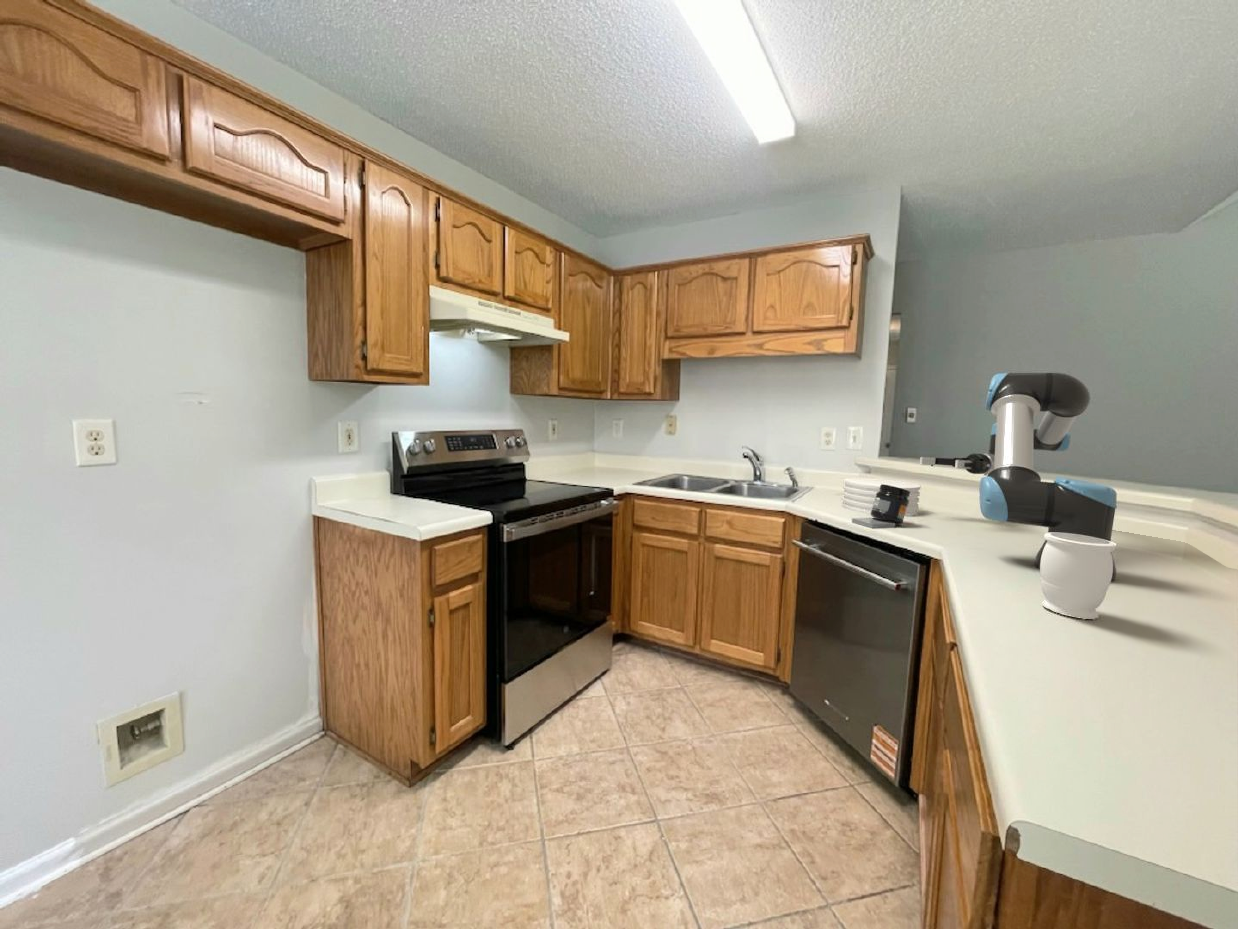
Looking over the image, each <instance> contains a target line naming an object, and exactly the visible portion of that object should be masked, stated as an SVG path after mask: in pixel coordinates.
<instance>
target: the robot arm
mask: <svg viewBox="0 0 1238 929" xmlns="http://www.w3.org/2000/svg"><path fill="white" fill-rule="evenodd" d="M1090 402H1091V393H1090V391H1089V389H1088V388H1087V386H1086V385H1085V384H1084V383H1083V382H1082V381H1081V380H1079V379H1078V378H1076V377H1075V376H1072V375H1070V374H1067V373H1063V372H1004V373H997V374H994V376H993V377H992V378H991V380H990V384H989V388H988V391H987V396H986V400H985V410H987V411H990V412H991V414H992V416H993V417H994V418H995V419H996V422H994V423H993V424H992V426H991V431H990V438H989V448H988V449H989V450H988V453H971V454H968V455H967V456H966V457H951V458H950V457H948V458H947V457H934V456H933V457H932V456H929V457H927V456H920V459H919V460H920V461H919V465H923V466H924V465H925V466H926V465H928V466H931V467H934V466H935V465H937V466H938V465H939V466H952V467H953V468H954V469H961V470H962V469H964V470H966V471H967V472H968V473H970V474H973V475H983V477H981V479H980V481H979V487H978V488H979V489H978V490H979V509H980V512H981V513H980V514H981V515H982V516H983V517H984V518H985V519H987V520H990V521H991V520H992V521H998V522H1000V523H1005V522H1006V523H1013V524H1019V525H1020V524H1021V525H1027V526H1028V525H1030V526H1034V527H1035V526H1037V527H1043V528H1048V529H1047V530H1048V531H1047V533H1049V532H1058V533H1071V534H1079V535H1085V536H1091V537H1096V538H1100V539H1104V540H1108V541H1111V542H1112V534H1113V527H1114V520H1115V513H1116V509H1117V508H1118V506H1117V497H1118V496H1117V491H1116V490H1115V489H1114V488H1112V487H1110V486H1107V485H1104V484H1101V483H1100V484H1099V483H1095V482H1090V481H1084V480H1079V479H1074V478H1068V477H1062V476H1057V477H1055V478H1054V480H1053V482H1048V481H1042V479H1041V475H1040V473H1038V472H1037V471H1036V470H1034V451H1050V452H1065V451H1067V450H1068V449H1069V446H1070V442H1071V433H1070V431H1069V429H1070V428H1071V426H1073V423H1075V420H1076V418H1077V417H1078V416H1079V415H1082V414H1083V413H1085V411H1086V410H1087V408H1088V407H1089V404H1090ZM1040 412H1045V413H1044V415H1043V418H1042V420H1041V421H1040V424H1039V426H1038V428H1034V418H1036V417H1037V415H1039V413H1040ZM1046 543H1047V540H1046V539H1044V542H1043V543H1042V545H1041V547H1040V549H1039V550H1038V552H1037V554H1036V556H1035V559H1034V560H1035V561H1034V565H1035V566H1036V567H1037V568H1039V569H1040V562H1041V556H1042V552H1043V549H1044V547H1045V545H1046ZM1111 555H1112V559H1113V573H1112V579H1111V582H1112V581H1115V580H1116V577H1117V567H1116V565H1115V564H1116V563H1115V561H1114V560H1115V559H1114V558H1113V553H1112V552H1111Z"/></svg>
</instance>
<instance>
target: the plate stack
mask: <svg viewBox="0 0 1238 929" xmlns="http://www.w3.org/2000/svg"><path fill="white" fill-rule="evenodd" d="M843 483H844V484H843V486H842V489H843V490H842V497H841V500H842V502H841V507H842V508H844V509H847V510H849V511H853V512H858V513H863V514H870V515H871V511H872V507H873V504H874V501H875V498H876V493H877V492H879V491H880V489H879V488H880V485H881V484H884V485H890V486H894V487H898V488H902V489H905V490H908V491H910V495H909V497H908V500H909V504H908V506H907V509H906V513H905V517H913V516H912V515H915V516H917V515H918V513H919V511H918V509H919V506H920V505H919V504H918V503H920V498H919V497H920V495H921V492H920V490H921V485H920V484H917V483H914V482H908V481H902V480H893V479H887V478H886V479H885V478H874V477H873V478H872V477H846V478H844V479H843Z"/></svg>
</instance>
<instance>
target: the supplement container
mask: <svg viewBox="0 0 1238 929" xmlns="http://www.w3.org/2000/svg"><path fill="white" fill-rule="evenodd" d="M879 489H880V491H879V492H877V493H876V498H875V501H874V504H873V507H872V511H871V514H870V516H871V518H878V519H882V520H885V521H889V522H893V523H895V525H896V524H897V525H901V524H903V523H904V519H905V517H906V516H905V513H906V509H907V506H908V504H909V500H908V497H909V495H910V491H908V490H905V489H902V488H898V487H894V486H890V485H884V484H881V485H880V488H879ZM904 516H905V517H904Z"/></svg>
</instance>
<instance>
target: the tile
mask: <svg viewBox="0 0 1238 929" xmlns="http://www.w3.org/2000/svg"><path fill="white" fill-rule="evenodd" d="M851 523H852V524H855V525H858V526H862V527H865V528H869V529H871V530H872V529H890V528H896V523H893V522H889V521H885V520H882V519H878V518H875V517H856V518H855V517H852V518H851Z"/></svg>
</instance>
